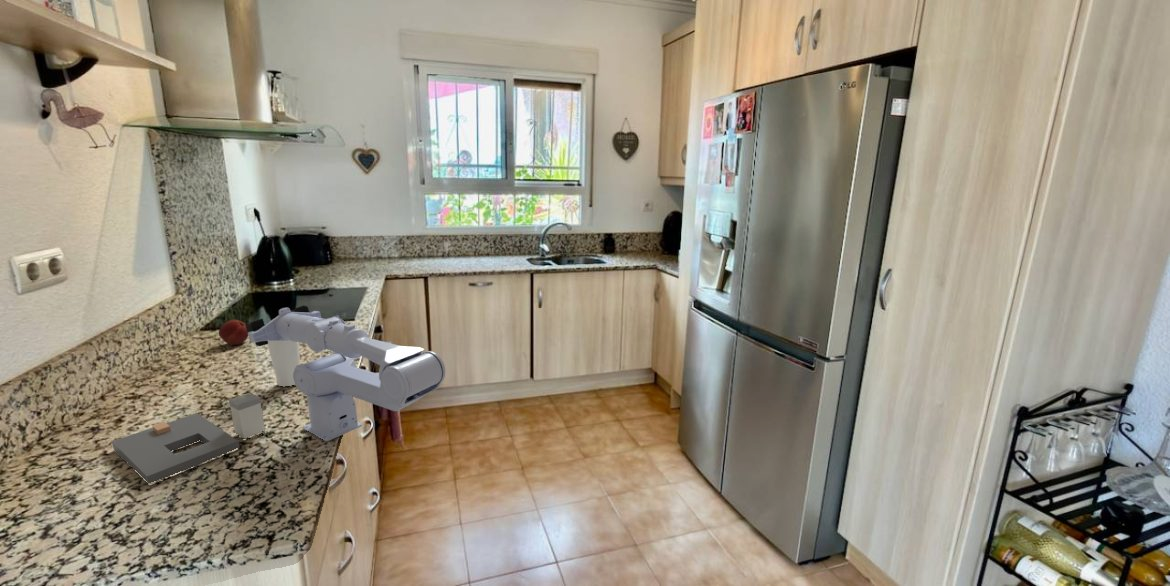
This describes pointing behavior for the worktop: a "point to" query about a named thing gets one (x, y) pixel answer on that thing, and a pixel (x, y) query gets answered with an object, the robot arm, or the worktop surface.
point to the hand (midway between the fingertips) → (266, 321)
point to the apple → (233, 332)
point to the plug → (247, 415)
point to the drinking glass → (284, 360)
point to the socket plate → (173, 446)
